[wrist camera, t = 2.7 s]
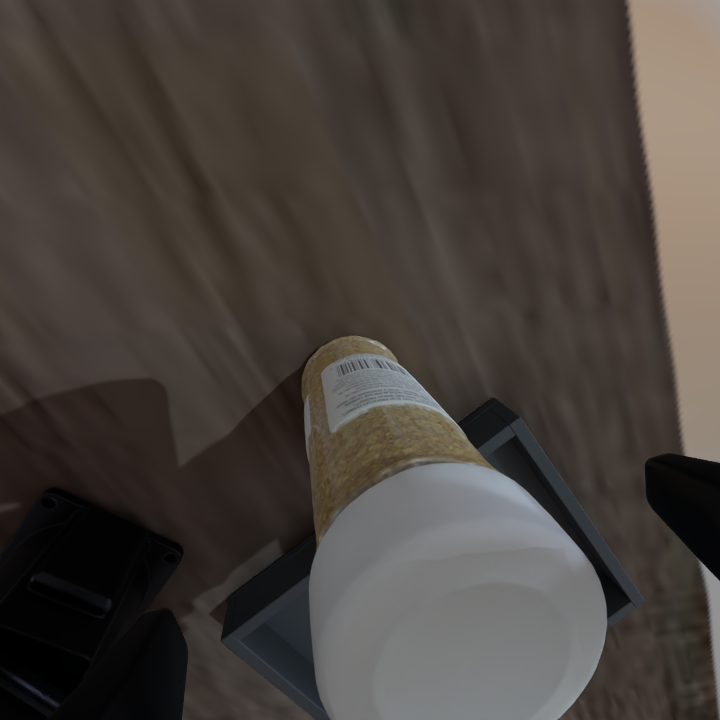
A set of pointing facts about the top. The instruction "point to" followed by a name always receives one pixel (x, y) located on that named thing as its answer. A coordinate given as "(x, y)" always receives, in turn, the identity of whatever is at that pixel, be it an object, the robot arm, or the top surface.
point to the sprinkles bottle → (432, 561)
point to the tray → (292, 571)
